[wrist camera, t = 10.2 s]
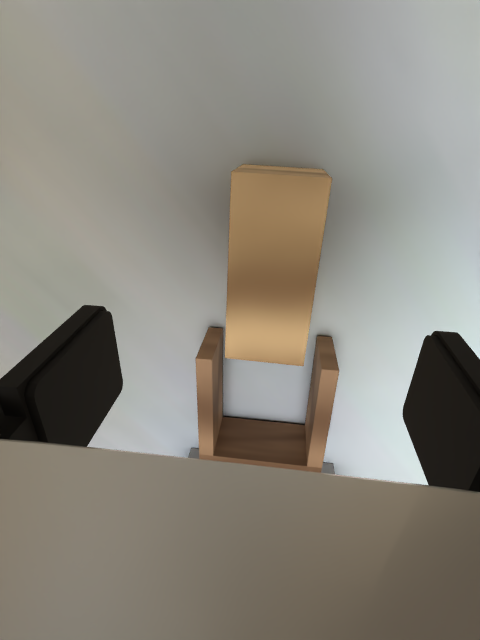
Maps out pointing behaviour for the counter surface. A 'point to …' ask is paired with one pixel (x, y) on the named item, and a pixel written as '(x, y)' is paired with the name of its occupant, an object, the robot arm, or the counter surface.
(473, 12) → the counter surface
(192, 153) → the counter surface
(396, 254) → the counter surface
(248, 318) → the oak bar
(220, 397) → the cradle
